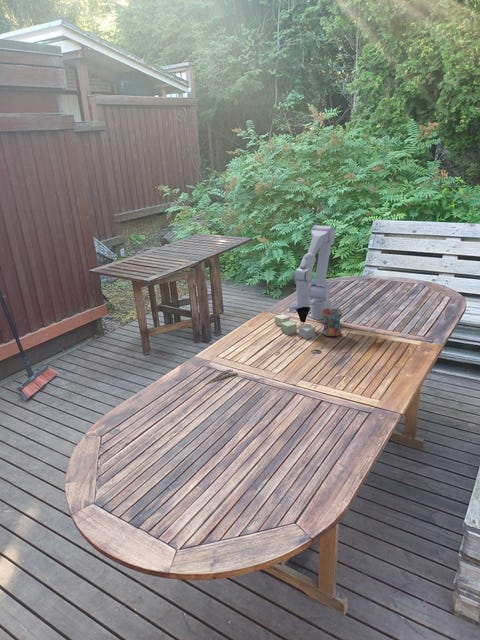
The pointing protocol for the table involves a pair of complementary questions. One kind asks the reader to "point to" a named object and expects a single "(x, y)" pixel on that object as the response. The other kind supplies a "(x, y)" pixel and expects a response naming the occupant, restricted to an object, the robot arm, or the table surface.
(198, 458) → the table surface
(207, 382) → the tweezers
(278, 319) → the block cream
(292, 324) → the block sage
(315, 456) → the table surface
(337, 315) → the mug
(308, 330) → the block bluegrey
